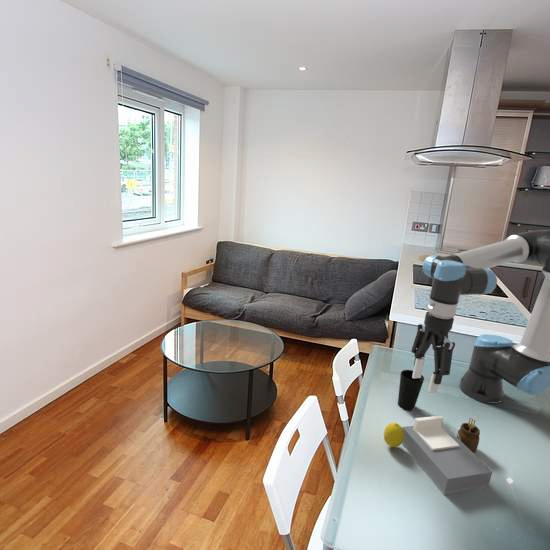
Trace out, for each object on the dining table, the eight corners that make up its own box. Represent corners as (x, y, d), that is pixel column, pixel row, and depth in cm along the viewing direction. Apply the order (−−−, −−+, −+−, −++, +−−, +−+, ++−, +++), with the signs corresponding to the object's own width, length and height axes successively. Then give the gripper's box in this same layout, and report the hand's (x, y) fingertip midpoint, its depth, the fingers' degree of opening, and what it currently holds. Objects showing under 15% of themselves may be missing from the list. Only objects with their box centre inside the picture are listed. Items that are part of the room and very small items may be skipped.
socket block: (438, 436, 120) (441, 422, 118) (487, 487, 101) (492, 471, 100) (399, 440, 116) (402, 426, 114) (443, 494, 97) (448, 478, 96)
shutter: (438, 426, 116) (440, 415, 115) (459, 447, 108) (462, 435, 107) (412, 429, 114) (415, 418, 113) (432, 450, 105) (435, 439, 104)
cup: (418, 414, 130) (426, 383, 127) (395, 409, 131) (402, 379, 128) (415, 401, 137) (422, 372, 134) (393, 397, 138) (399, 368, 135)
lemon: (401, 443, 115) (406, 420, 113) (400, 455, 110) (405, 432, 108) (382, 438, 116) (387, 415, 114) (381, 449, 111) (385, 426, 109)
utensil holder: (477, 447, 116) (487, 413, 113) (473, 458, 111) (483, 423, 108) (457, 438, 120) (465, 405, 116) (452, 448, 115) (461, 414, 111)
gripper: (408, 302, 118) (395, 368, 124) (453, 329, 99) (435, 405, 106) (429, 301, 120) (414, 367, 126) (477, 328, 101) (457, 403, 108)
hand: (424, 384), depth 116 cm, fingers open, 7 cm apart
